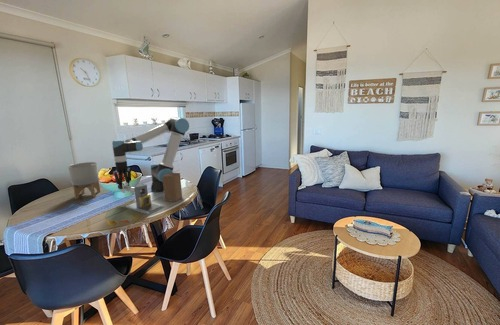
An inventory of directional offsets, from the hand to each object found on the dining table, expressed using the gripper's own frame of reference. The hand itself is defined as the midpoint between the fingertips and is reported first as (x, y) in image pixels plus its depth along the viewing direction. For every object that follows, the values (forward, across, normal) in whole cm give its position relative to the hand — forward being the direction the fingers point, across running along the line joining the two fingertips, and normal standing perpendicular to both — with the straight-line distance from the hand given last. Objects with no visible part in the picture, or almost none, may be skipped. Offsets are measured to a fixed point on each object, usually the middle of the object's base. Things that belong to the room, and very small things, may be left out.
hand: (125, 191), depth 181 cm
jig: (+9, 0, +21) cm, 23 cm away
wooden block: (+9, -21, +27) cm, 36 cm away
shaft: (-1, 0, +7) cm, 7 cm away
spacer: (+7, 0, +22) cm, 23 cm away
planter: (+9, +5, -44) cm, 45 cm away
